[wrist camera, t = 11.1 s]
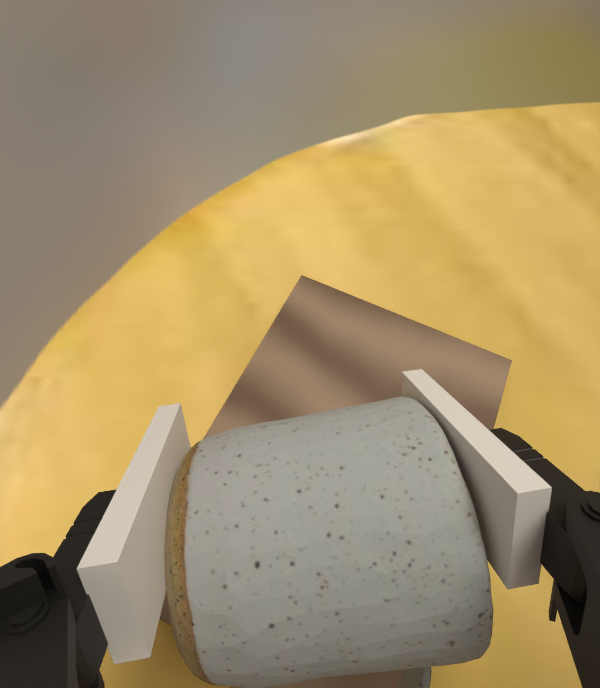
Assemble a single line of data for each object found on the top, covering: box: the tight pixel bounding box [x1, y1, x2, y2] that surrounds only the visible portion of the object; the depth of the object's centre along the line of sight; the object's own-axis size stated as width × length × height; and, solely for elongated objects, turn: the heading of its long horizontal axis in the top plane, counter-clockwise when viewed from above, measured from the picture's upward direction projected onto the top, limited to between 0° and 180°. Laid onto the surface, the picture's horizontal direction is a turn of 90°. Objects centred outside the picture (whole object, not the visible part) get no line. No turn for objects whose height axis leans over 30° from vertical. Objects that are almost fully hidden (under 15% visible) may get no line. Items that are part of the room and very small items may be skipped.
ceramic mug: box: [165, 397, 493, 688], centre depth 12 cm, size 11×8×8 cm
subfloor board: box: [160, 276, 512, 688], centre depth 25 cm, size 24×17×1 cm
